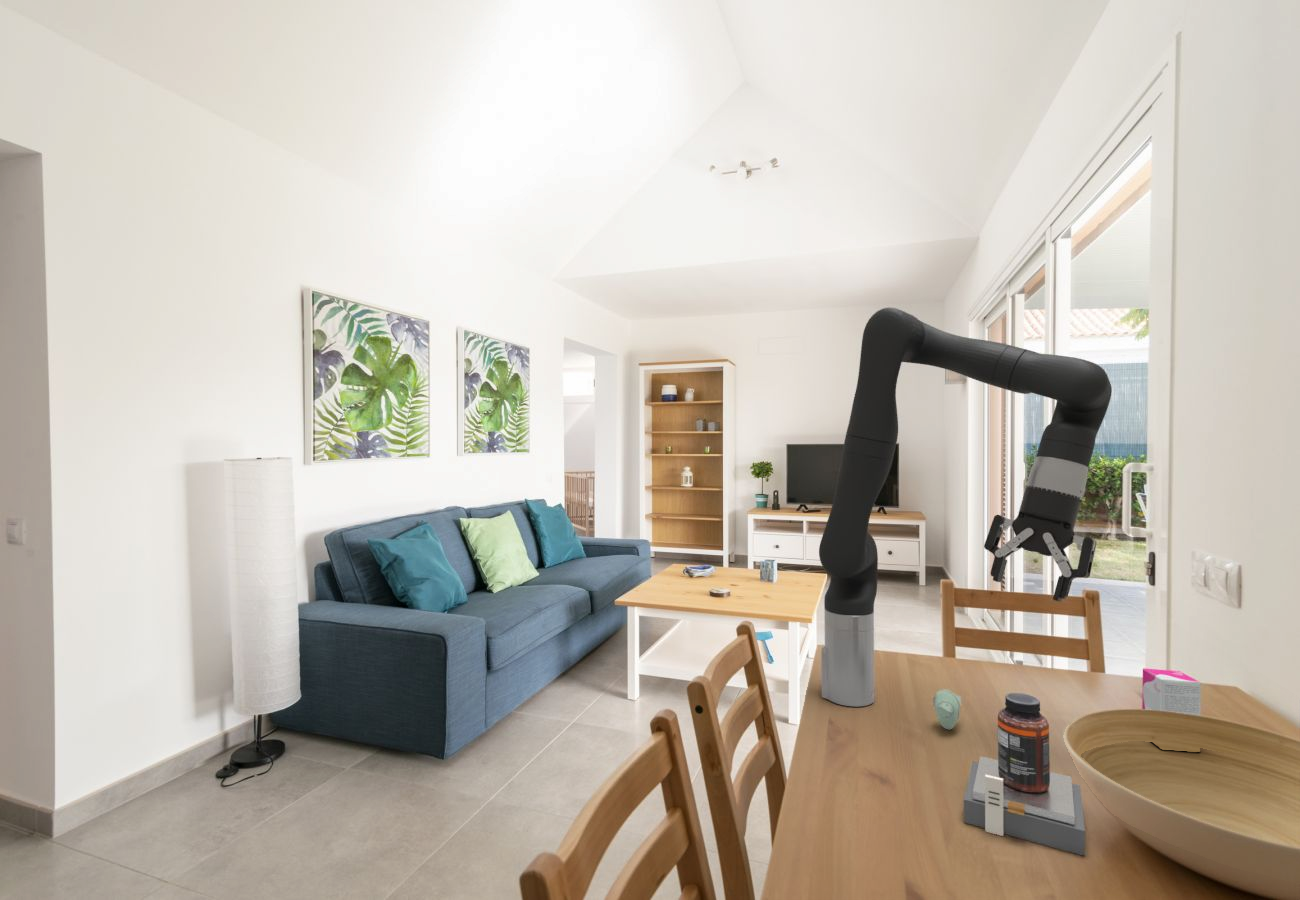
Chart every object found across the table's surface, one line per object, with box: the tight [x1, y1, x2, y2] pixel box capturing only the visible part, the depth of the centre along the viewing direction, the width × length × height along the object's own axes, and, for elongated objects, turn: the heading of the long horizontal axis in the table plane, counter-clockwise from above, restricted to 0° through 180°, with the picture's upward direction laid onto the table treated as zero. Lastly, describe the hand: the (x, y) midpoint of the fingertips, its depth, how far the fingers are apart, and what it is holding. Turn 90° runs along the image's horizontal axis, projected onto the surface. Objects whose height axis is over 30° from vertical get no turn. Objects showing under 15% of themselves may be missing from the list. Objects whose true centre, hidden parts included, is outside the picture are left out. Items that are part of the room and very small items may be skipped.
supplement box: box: [1141, 667, 1202, 717], centre depth 104 cm, size 6×6×12 cm
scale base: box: [963, 760, 1086, 857], centre depth 84 cm, size 13×13×7 cm
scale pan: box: [973, 755, 1075, 825], centre depth 83 cm, size 11×13×1 cm
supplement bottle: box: [997, 692, 1051, 792], centre depth 84 cm, size 6×6×11 cm
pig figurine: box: [933, 688, 962, 730], centre depth 110 cm, size 8×4×7 cm, turn 139°
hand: (1026, 590), depth 98 cm, fingers open, 8 cm apart
